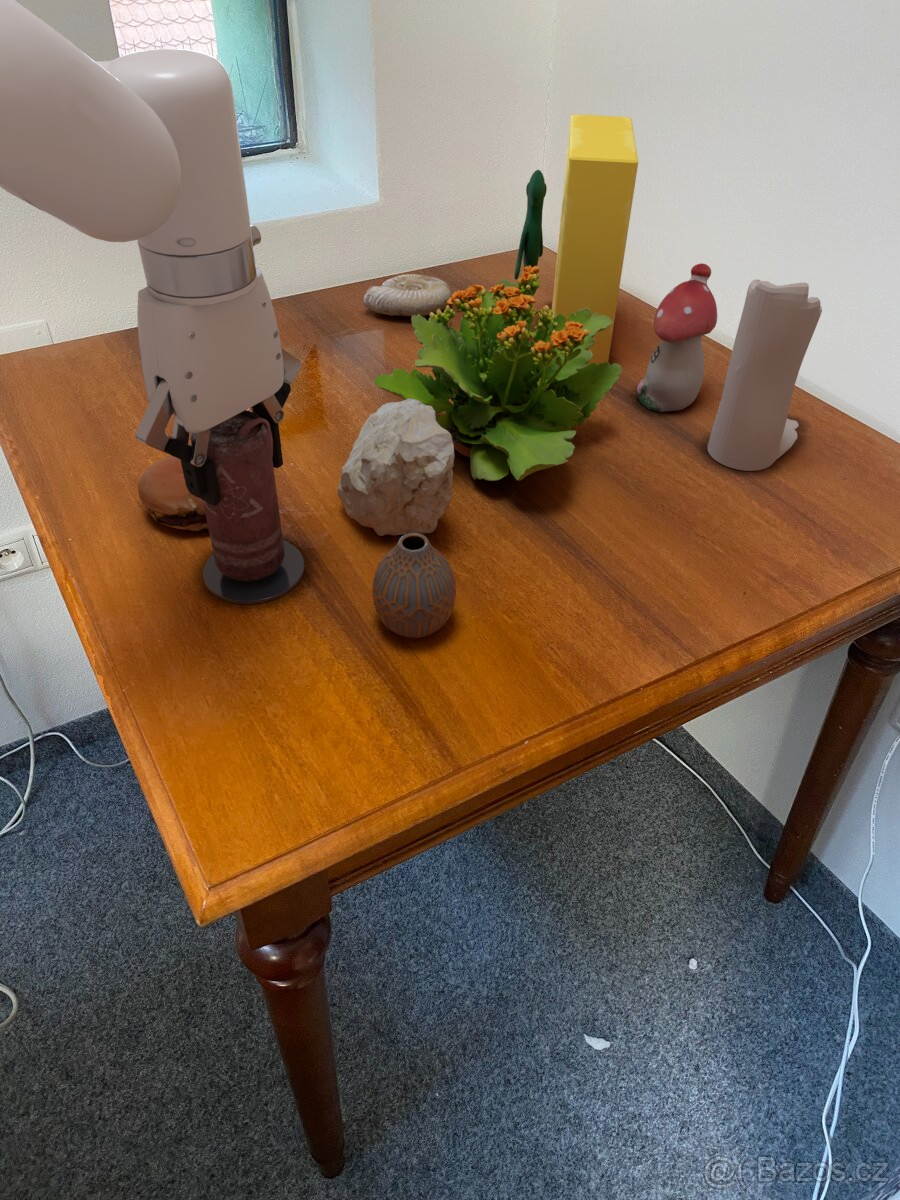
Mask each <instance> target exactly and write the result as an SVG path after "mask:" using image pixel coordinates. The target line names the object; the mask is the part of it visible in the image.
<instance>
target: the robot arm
mask: <svg viewBox="0 0 900 1200" xmlns="http://www.w3.org/2000/svg"><path fill="white" fill-rule="evenodd" d="M235 104H236V103H235V96H234V90H233V85H232V81H231V77H230V75H229V73H228V71H227V69H226V68H225V66H224V65H223V63H222V62H220V60H218V59H217V58H216V57H214V56H212V55H210V54H208V53H206V52H205V53H204V52H201V51H198V50H192V49H183V48H157V49H155V48H154V49H146V50H138V51H133V52H129V53H126V54H124V55H120V56H119V57H117V58H115V59H113V60H102V61H101V60H99V61H96V60H94V59H93V58H92V57H90V56H89V55H88V54H87V53H85V52H84V51H82V50H81V49H80V48H79V47H77V46H76V45H75V44H74V43H72V42H71V41H70V40H69V39H68V38H66V37H65V36H63V35H62V34H61V33H60V32H58V30H55V29H54V28H53V27H52V26H51V25H49V24H48V23H47V22H45V21H44V20H43V19H42V18H40V17H38V16H37V15H36V14H34V13H33V12H32V11H30V10H29V9H28V8H26V7H25V6H24V5H22V4H21V3H19V2H18V1H17V0H0V188H1V189H2V190H4V191H6V192H7V193H9V194H11V195H12V196H14V197H16V198H17V199H20V200H21V201H24V202H25V203H27V204H28V205H30V206H32V207H34V208H36V209H38V210H39V211H42V212H44V213H47V214H48V215H50V216H52V217H54V218H56V219H58V220H59V221H61V222H63V223H65V224H66V225H68V226H70V227H72V228H73V229H75V230H77V231H78V232H80V233H82V234H84V235H86V236H88V237H90V238H93V239H96V240H99V241H100V240H101V241H104V242H109V243H127V242H133V241H137V246H138V250H139V255H140V260H141V263H142V269H143V272H144V278H145V282H146V286H145V287H143V288H142V289H140V290H138V292H137V306H136V307H137V309H136V312H137V313H136V315H137V335H138V345H139V354H140V360H141V361H140V363H141V369H142V375H143V379H144V386H145V392H146V396H147V400H148V406H147V407H146V410H145V412H144V414H143V416H142V418H141V421H140V423H139V424H138V427H137V429H136V431H135V439H136V440H137V441H139V442H141V443H143V444H144V445H146V446H148V447H150V448H153V449H155V450H158V451H160V452H163V453H165V454H167V455H169V456H174V457H176V458H178V459H180V460H181V465H182V469H183V474H184V478H185V483H186V487H187V489H188V491H189V492H190V493H191V494H192V495H194V496H195V497H198V498H200V499H202V500H204V501H206V502H207V503H209V504H211V505H213V506H215V505H217V504H219V503H220V500H221V496H220V491H219V485H218V480H217V475H216V470H215V465H214V463H213V462H212V461H211V460H209V459H207V451H208V444H209V438H210V431H211V428H212V427H214V426H216V425H218V424H220V423H222V422H224V421H225V420H227V419H229V418H231V417H233V416H235V415H237V414H239V413H241V412H243V411H245V410H250V411H251V412H253V413H255V414H257V415H258V416H259V417H261V418H263V419H266V420H267V421H268V422H269V424H270V429H271V434H272V439H273V457H272V460H273V468H274V469H279V468H281V467H282V466H284V457H283V452H282V451H283V450H282V442H281V441H282V440H281V433H280V426H279V425H280V423H281V422H282V421H283V420H284V418H285V411H284V406H285V405H286V402H287V400H288V398H289V396H290V394H291V390H292V389H291V388H292V387H291V385H293V383H294V381H295V378H296V377H297V375H298V373H299V371H300V368H301V364H302V363H301V360H299V359H298V358H297V357H296V356H294V355H292V354H291V353H289V352H288V351H287V350H285V349H284V348H282V342H281V336H280V331H279V326H278V322H277V318H276V314H275V309H274V305H273V302H272V297H271V295H270V291H269V288H268V285H267V283H266V280H265V277H264V274H263V272H262V270H261V269H260V268H259V267H257V264H256V257H255V250H254V249H255V246H257V245H259V244H261V242H262V235H261V232H260V230H259V229H258V227H257V226H255V225H254V224H251V219H250V211H249V204H248V195H247V188H246V180H245V174H244V166H243V165H244V164H243V157H242V151H241V150H242V149H241V143H240V136H239V135H240V134H239V127H238V119H237V112H236V105H235ZM173 415H174V419H173V424H172V425H173V426H172V434H171V435H169V434H166V429H167V426H168V424H169V422H170V420H171V418H172V416H173ZM192 433H193V436H192V443H191V444H189V440H190V434H192Z"/></svg>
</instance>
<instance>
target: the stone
mask: <svg viewBox="0 0 900 1200" xmlns="http://www.w3.org/2000/svg"><path fill="white" fill-rule="evenodd" d="M436 415H437V414H436V413H435V410H434V409H433V408H432V406H427V405H424V404H423V403H422V402H420V401H419V400H416V399H410V398H408V399H407V400H404V399H403V400H401V401H397V402H395V401H393V402H392V401H391V402H386V403H383V404H382V405H381V406H380V407H379V408H378V409H376V411H375V412H373V413H371V414H370V415H369V416H368V417H367V419H366V420H365V422H364V423H363V425H362V426H361V428H360V431H359V434H358V437H357V438H356V440H355V441H354V443H353V445H352V449H351V451H350V452H349V458H347V459H346V462H345V464H344V465H343V466H342V467H341V473H340V479H339V483H338V485H337V489H336V490H337V496H338V498H339V499H340V501H341V504H342V506H343V508H344V509H345V512H346V514H347V516H348V517H349V518H350V519H353V520H355V521H356V522H357V523H359V525H361V526H363V527H364V528H367V527H368V528H370V529H371V528H372V529H373V530H374V532H375V534H377V535H378V536H379V537H384V536H386V535H389V536H401V535H403V536H404V535H406V534H409V533H419V534H422V535H425V534H431V533H433V532H434V531H435V530H436V528H437V526H438V520H439V519H440V518H442V517H444V514H445V510H446V507H448V506H449V505H450V503H451V500H452V497H453V496H452V495H453V482H454V471H453V467H454V466H455V465H454V462H455V456H456V455H455V449H454V446H453V441H452V437H451V434H450V433H449V432H448V431H447V430H445V429H444V428H442V427H441V426H440V425H439V424H438V423H437V421H436V418H437V417H436Z"/></svg>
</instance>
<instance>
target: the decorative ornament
mask: <svg viewBox="0 0 900 1200" xmlns="http://www.w3.org/2000/svg"><path fill="white" fill-rule="evenodd" d="M711 275H712V268H711V267H710V265H708V264H706V263H703V262H701V263H696V264H695V265H693V266H692V267H691V269H690V278H689V280H686V281H683V282H680V283H678V285H676V286H674V287H673V288H672V289H671V290H670V291H669V292H668V293H667V294H666V295H665V296H664V298H663V299H662V301H660V303H659V305H658V306H657V308H656V311H655V314H654V319H653V331H654V333H655V335H656V337H658V338H659V339H660V340H661V341H660V342H659V344H658V345H657V346H656V348H655V349H654V350H653V353H652V354H651V357H650V360H649V362H648V364H647V368H646V372H645V376H644V378H642V379H641V380H640V381H639V382H638V384H637V388H636V396H637V399H638V401H639V403H640V404H641V405H642V406H643V407H645V408H646V409H648V410H650V411H654V412H659V413H661V412H663V413H664V412H674V411H675V412H676V411H682V410H684V409H685V408H687V407H689V406H690V405H691V404H692V403H693V402H695V400H696V398H697V397H698V395H699V393H700V390H701V387H702V385H703V381H704V377H705V354H704V353H705V352H704V347H703V342H702V337H703V336H705V335H708V334H710V333H712V332H713V330H714V329H715V328H716V326H717V323H718V308H717V302H716V299H715V297H714V294H713V292H712V291H711V289H710V288H709V286H708V280H709V279H710V277H711Z"/></svg>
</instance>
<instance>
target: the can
mask: <svg viewBox="0 0 900 1200" xmlns="http://www.w3.org/2000/svg"><path fill="white" fill-rule="evenodd" d="M192 436H193V433H191V436H190V437H189V440H190V442H191V443H192ZM272 457H273V439H272V434H271V429H270V424H269V422H268V421H267V420H266V419H263V418H261V417H259V416H258V415H257V414H255V413H253V412H252V411H251V410H249V409H246V410H245V411H243V412H241V413H239V414H237V415H235V416H233V417H231V418H229V419H227V420H225V421H224V422H222V423H220V424H218V425H216V426H214V427H212V428H211V431H210V438H209V444H208V451H207V459H209V460H211V461H212V462H213V463H214V465H215V470H216V475H217V480H218V485H219V491H220V496H221V500H220V503H219V504H217V505H215V506H213V505H211V504H209V503H207V502H206V501H204V500H203V504H204V509H205V514H206V519H207V524H208V528H207V530H208V533H209V539H210V544H211V548H212V554H214V559H215V564H216V567H217V568H218V569H219V570H220V572H222V573H223V574H224V575H226V576H227V577H229V578H231V579H234V580H238V581H255V580H260V579H263V578H265V577H268V576H270V575H271V574H272V573H274V572H275V571H276V570H277V569H278V568H279V566H280V565H281V563H282V562H283V559H284V555H285V552H284V545H283V540H284V538H283V529H282V522H281V516H280V515H281V514H280V507H279V498H278V491H277V485H276V475H275V470H274V469H275V468H274V467H273V460H272Z"/></svg>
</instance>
